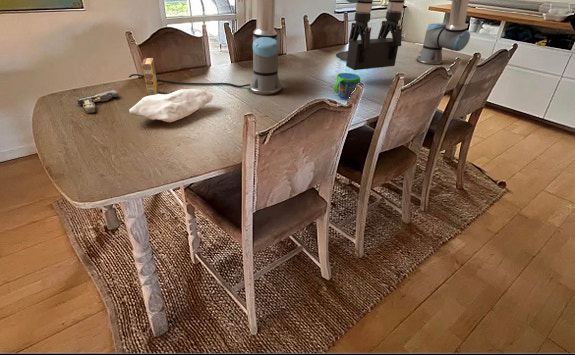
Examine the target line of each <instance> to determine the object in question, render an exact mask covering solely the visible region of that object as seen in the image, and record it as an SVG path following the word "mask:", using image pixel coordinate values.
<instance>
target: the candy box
mask: <svg viewBox="0 0 575 355" xmlns="http://www.w3.org/2000/svg"><path fill="white" fill-rule="evenodd" d="M141 66H142V73H143V75H144V77H143V78H144V82H145V87H146V92H147V96H150V95H156V94H159V91H160V90H159V84H158V80H157V78H158V77H157V73H156V66H155V62H154V58H153V57H151V58H150V57H149V58H146V57H145V58H143V60H142V63H141Z"/></svg>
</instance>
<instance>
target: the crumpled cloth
mask: <svg viewBox="0 0 575 355" xmlns="http://www.w3.org/2000/svg"><path fill="white" fill-rule="evenodd" d="M213 97H214V96H213V94H212V93H210V92H208V91H206V90H203V89H201V88H187V89H186V88H185V89H184V88H183V89H177V90H175V91H173V92H171V93H167V94H163V93H158V94H156V95H150V96H148V95H146V96H144V97H142V98H141V99H140V100H139V101H138V102H137V103H136V104H134V105H133V106H132V107H131V108H129V114H130V115H135V116H140V117H145V118H146V119H149V120H152V121H155V120H158V121H163V122H166V123H174V122H176V121H178V120H181V119H183V118H185V117H188V116H190V115H192V114H193V113H195V112H196V111H197V110H199V109H200V108H202V107H204V106H206V105H207V104H210V102H211V101H212V100H213V99H214V98H213Z"/></svg>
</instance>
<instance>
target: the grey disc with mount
mask: <svg viewBox="0 0 575 355" xmlns="http://www.w3.org/2000/svg"><path fill="white" fill-rule="evenodd" d="M347 55H348V50H345V51H340V52H337V53H336V54H335V56H336V57H337V59H339V60H343V61H346V62H347Z"/></svg>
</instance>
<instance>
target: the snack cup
mask: <svg viewBox="0 0 575 355" xmlns="http://www.w3.org/2000/svg"><path fill="white" fill-rule="evenodd" d="M358 83H360V84H361V76H359V75H358V74H355V73H350V72H341V73H338V74H337V75H336V80H335V83H334V86H333V92H334V93H335V94H337V96H338V98H340V99H343V100H350V99H349V97H350V95H351V93H352V92H353V91H354V90H355V86H356V84H358Z"/></svg>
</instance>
